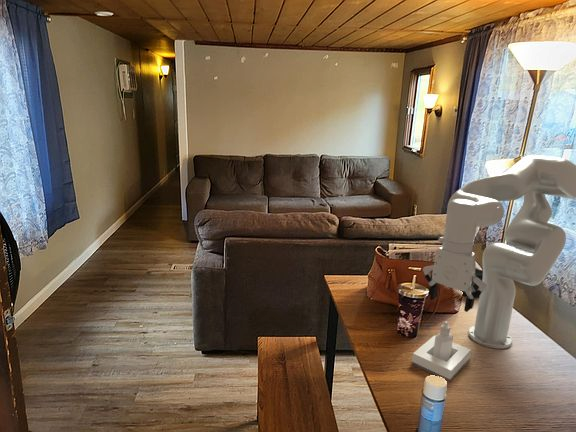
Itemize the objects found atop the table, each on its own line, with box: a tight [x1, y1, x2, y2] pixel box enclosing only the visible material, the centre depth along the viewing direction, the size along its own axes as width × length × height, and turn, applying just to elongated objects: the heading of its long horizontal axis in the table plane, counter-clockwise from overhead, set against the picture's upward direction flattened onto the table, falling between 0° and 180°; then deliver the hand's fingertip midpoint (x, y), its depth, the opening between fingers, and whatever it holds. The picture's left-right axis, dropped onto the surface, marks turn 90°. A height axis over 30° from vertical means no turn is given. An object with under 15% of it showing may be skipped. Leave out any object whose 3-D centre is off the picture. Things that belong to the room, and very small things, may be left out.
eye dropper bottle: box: [433, 321, 454, 362], centre depth 119 cm, size 4×6×12 cm
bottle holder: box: [411, 334, 472, 383], centre depth 120 cm, size 14×11×4 cm
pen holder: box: [462, 267, 483, 299], centre depth 164 cm, size 9×9×10 cm
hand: (450, 303), depth 116 cm, fingers open, 9 cm apart
